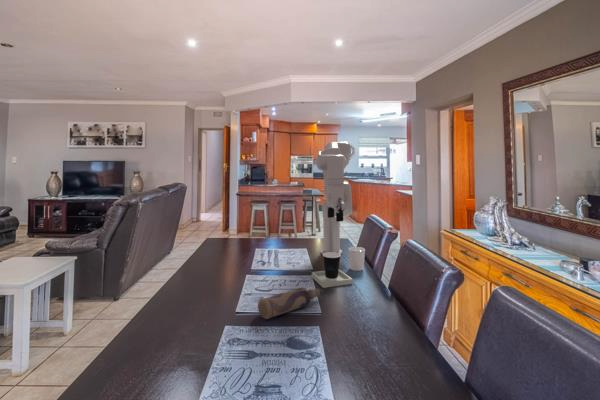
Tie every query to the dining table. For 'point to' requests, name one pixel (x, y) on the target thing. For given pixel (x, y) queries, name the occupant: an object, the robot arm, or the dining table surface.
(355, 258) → the white cup
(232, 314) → the dining table surface
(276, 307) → the decorative bottle
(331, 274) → the dixie cup
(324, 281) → the tray
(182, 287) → the dining table surface
